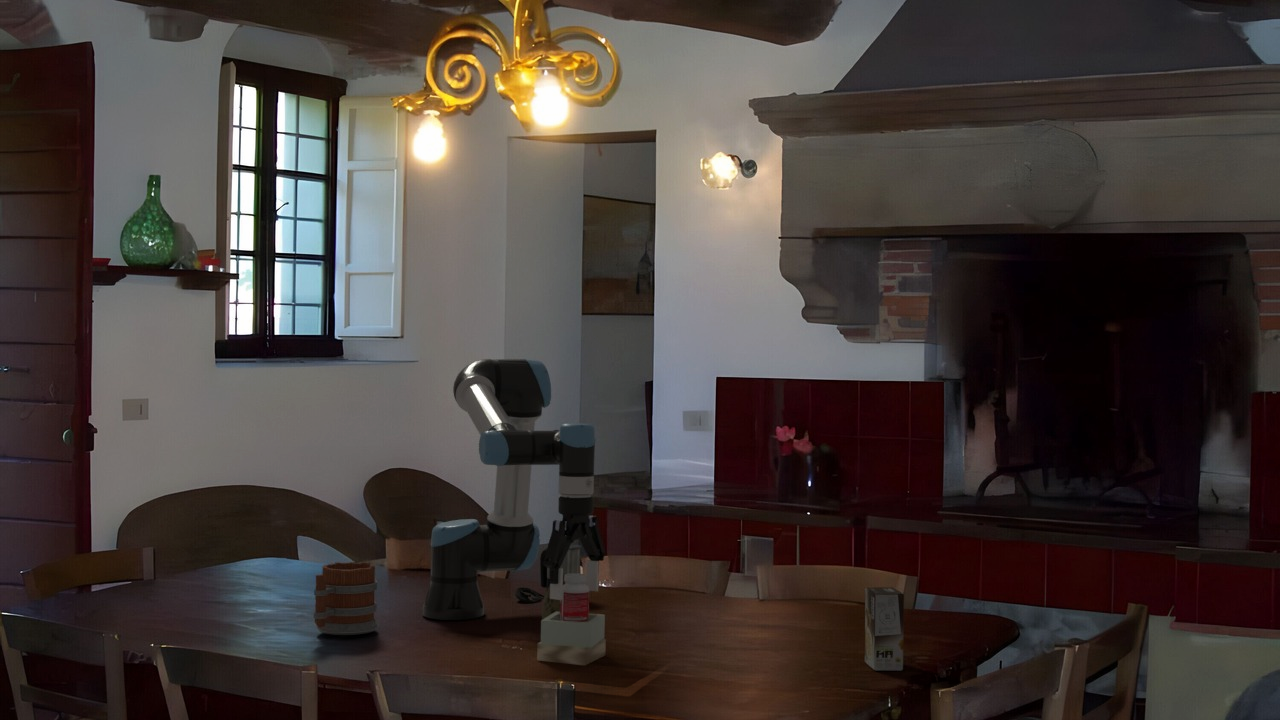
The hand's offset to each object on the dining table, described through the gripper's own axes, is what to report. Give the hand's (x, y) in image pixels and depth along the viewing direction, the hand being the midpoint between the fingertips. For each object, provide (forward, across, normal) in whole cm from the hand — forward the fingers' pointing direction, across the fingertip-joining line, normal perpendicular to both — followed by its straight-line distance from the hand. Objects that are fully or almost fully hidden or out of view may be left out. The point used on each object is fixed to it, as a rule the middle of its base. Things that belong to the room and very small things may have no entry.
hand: (574, 595), depth 286 cm
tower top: (+10, -1, 0) cm, 10 cm away
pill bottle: (+7, 0, 0) cm, 7 cm away
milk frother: (+14, +52, +44) cm, 69 cm away
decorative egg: (+13, +14, +12) cm, 23 cm away
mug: (+14, -9, +59) cm, 61 cm away
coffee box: (+13, +31, -58) cm, 67 cm away
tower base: (+14, -1, 0) cm, 14 cm away
